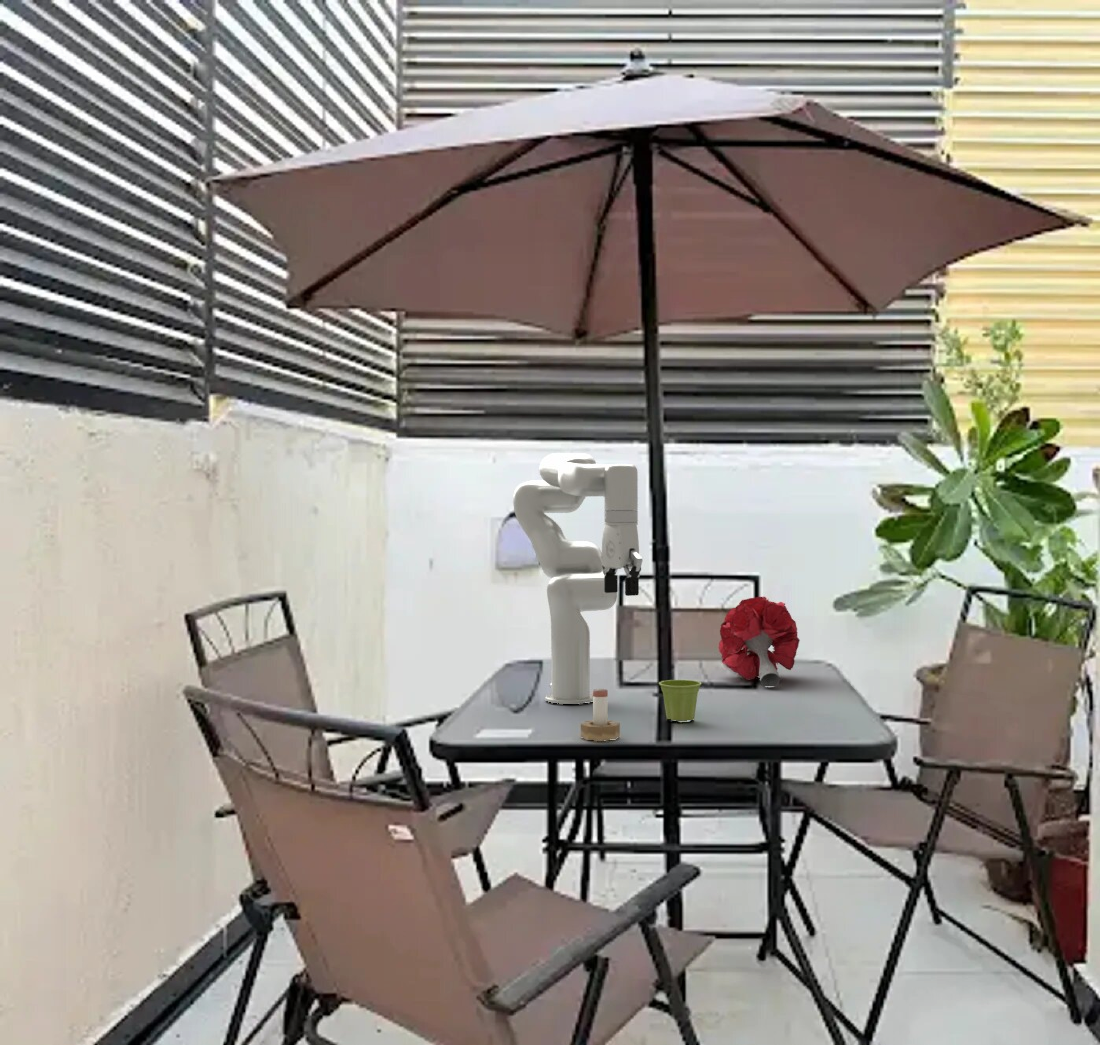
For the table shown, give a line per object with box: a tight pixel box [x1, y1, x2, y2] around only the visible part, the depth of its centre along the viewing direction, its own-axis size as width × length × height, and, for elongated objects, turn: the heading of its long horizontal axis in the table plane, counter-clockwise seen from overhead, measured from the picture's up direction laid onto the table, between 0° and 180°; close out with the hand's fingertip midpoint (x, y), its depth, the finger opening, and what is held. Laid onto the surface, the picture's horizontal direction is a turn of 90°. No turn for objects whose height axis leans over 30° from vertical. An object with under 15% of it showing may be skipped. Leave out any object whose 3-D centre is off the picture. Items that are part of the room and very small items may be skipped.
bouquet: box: [718, 596, 801, 687], centre depth 326 cm, size 22×24×30 cm
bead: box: [580, 720, 621, 742], centre depth 249 cm, size 8×8×3 cm
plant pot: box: [658, 679, 702, 721], centre depth 268 cm, size 9×9×9 cm
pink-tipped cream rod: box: [592, 688, 609, 726], centre depth 249 cm, size 3×3×10 cm
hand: (621, 593), depth 271 cm, fingers open, 9 cm apart
